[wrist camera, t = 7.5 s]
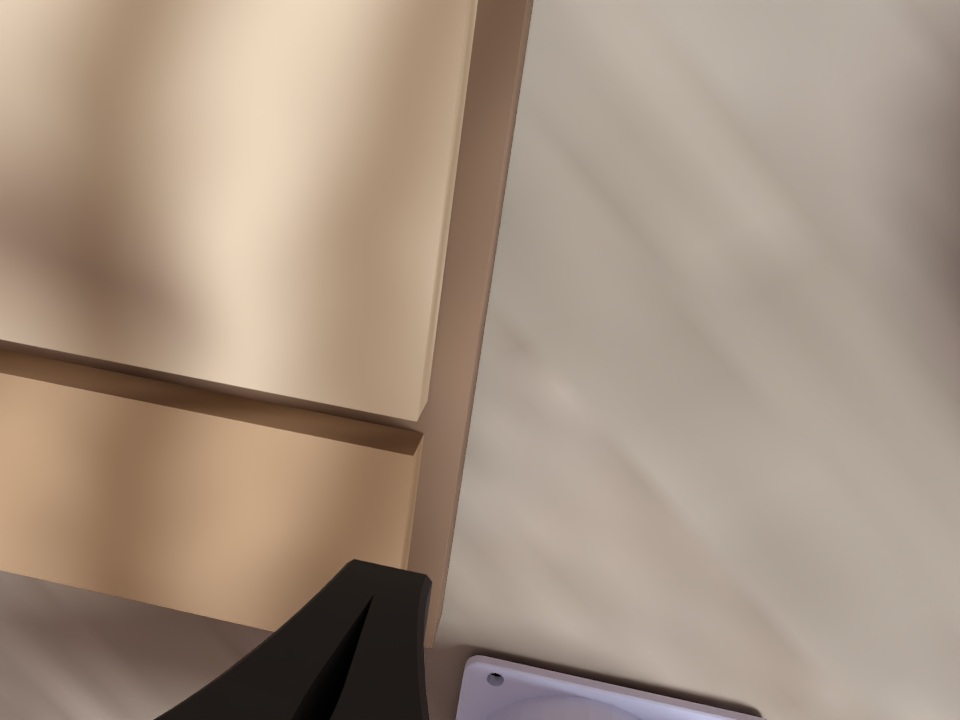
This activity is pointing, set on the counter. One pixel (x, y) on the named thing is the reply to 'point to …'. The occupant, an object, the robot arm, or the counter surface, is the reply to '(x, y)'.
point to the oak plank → (234, 187)
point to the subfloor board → (260, 437)
